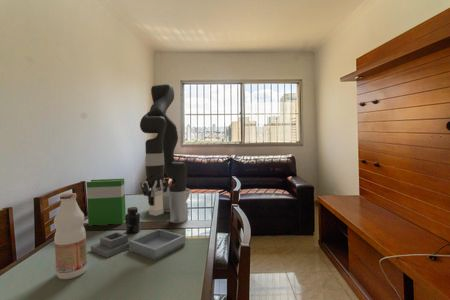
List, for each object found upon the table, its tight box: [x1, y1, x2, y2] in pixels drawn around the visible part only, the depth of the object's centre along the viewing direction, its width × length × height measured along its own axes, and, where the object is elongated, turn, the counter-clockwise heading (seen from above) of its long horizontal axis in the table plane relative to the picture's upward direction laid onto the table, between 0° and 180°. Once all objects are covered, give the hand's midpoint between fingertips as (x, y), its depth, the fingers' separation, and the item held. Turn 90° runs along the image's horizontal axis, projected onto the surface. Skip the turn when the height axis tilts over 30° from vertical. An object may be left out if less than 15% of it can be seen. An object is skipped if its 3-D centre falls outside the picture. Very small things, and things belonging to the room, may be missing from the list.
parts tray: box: [128, 228, 186, 261], centre depth 109 cm, size 16×16×4 cm
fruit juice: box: [53, 192, 88, 280], centre depth 89 cm, size 9×9×28 cm
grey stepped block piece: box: [90, 231, 133, 258], centre depth 109 cm, size 14×12×5 cm
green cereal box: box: [85, 178, 127, 227], centre depth 141 cm, size 18×7×24 cm, turn 98°
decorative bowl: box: [163, 186, 191, 213], centre depth 166 cm, size 27×27×12 cm
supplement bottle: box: [125, 206, 141, 235], centre depth 128 cm, size 7×7×12 cm
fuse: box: [148, 189, 164, 217], centre depth 108 cm, size 4×4×10 cm
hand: (156, 203), depth 108 cm, fingers closed on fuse, 4 cm apart
